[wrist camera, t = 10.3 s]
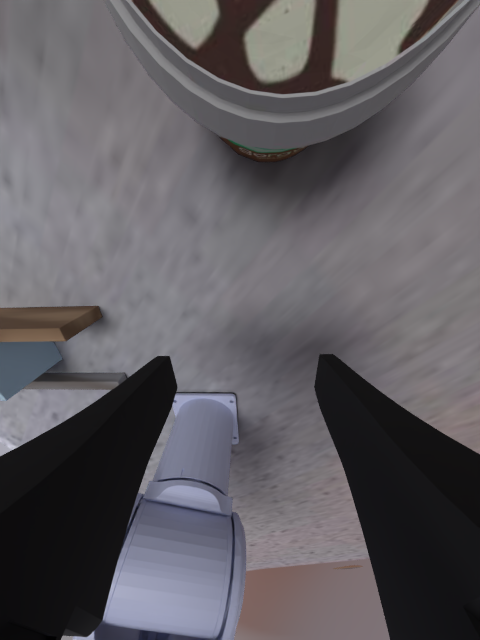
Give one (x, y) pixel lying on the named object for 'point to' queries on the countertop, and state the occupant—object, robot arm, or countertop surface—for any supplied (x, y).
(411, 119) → the countertop surface
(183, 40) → the food container
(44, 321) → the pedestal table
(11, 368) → the cabinet block
